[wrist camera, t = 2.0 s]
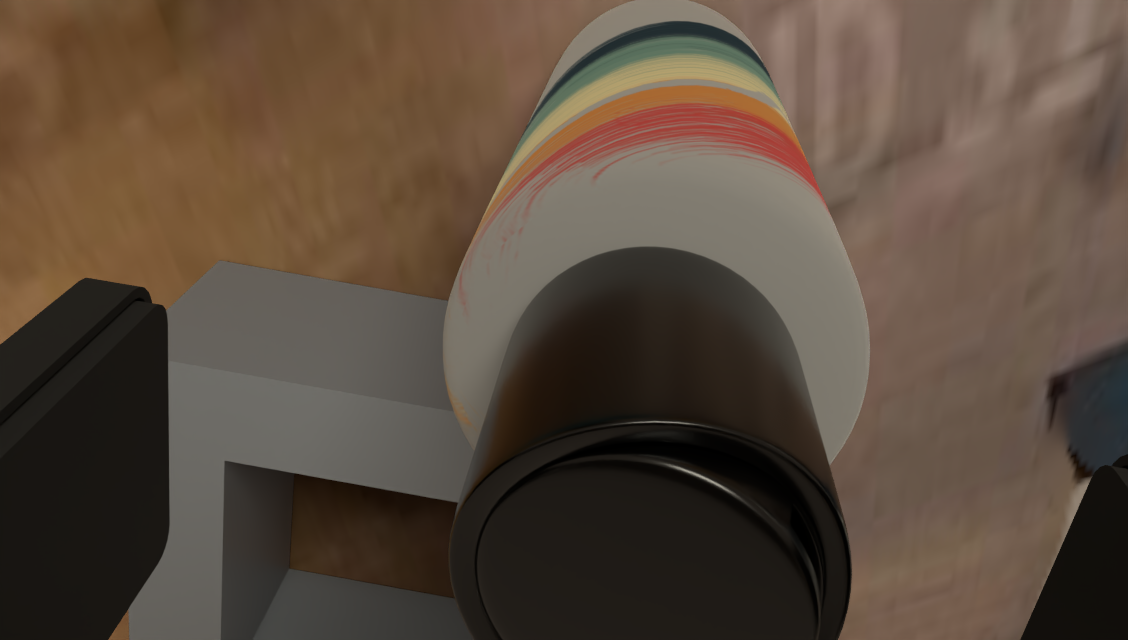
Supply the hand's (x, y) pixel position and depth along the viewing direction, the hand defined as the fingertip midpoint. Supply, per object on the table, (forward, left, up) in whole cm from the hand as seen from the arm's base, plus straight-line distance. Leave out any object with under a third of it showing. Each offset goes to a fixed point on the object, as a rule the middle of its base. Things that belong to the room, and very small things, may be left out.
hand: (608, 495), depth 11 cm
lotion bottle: (0, 0, -19) cm, 19 cm away
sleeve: (+5, +13, -18) cm, 23 cm away
